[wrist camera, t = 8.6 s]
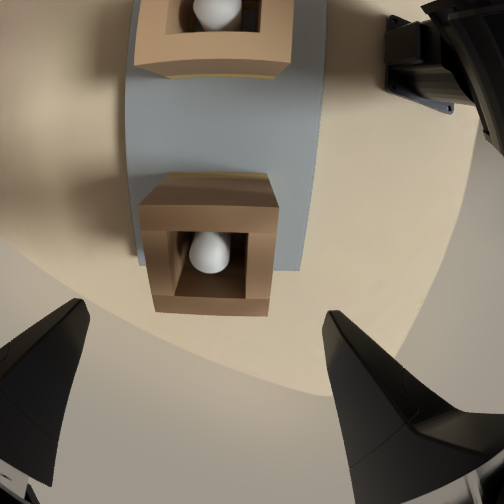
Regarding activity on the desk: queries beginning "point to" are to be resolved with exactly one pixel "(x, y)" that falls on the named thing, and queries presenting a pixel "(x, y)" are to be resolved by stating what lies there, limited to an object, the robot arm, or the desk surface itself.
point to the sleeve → (210, 220)
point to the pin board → (226, 106)
